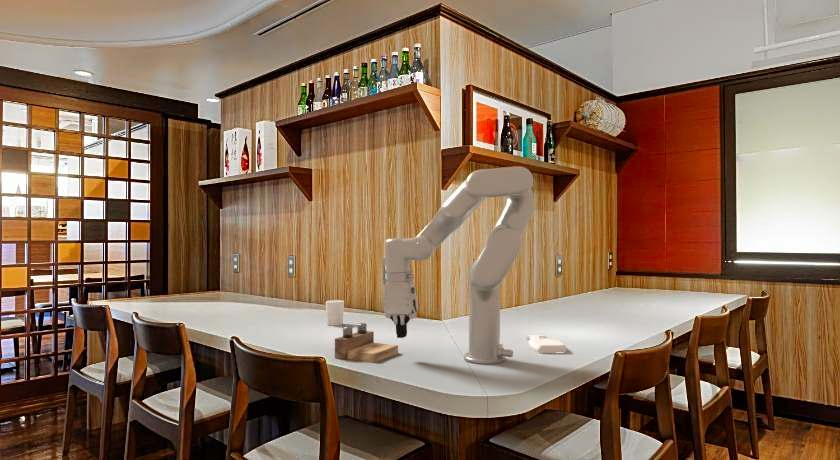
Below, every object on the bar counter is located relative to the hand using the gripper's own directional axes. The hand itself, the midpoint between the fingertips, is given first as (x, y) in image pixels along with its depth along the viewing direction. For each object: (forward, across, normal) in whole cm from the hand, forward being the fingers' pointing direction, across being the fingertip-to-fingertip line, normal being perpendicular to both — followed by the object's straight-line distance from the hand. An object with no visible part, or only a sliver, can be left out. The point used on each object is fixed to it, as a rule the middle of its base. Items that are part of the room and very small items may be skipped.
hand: (401, 337), depth 162 cm
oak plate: (+7, +10, +1) cm, 12 cm away
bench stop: (+6, +18, +1) cm, 18 cm away
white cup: (+5, +58, -41) cm, 71 cm away
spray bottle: (+10, -33, -40) cm, 53 cm away
